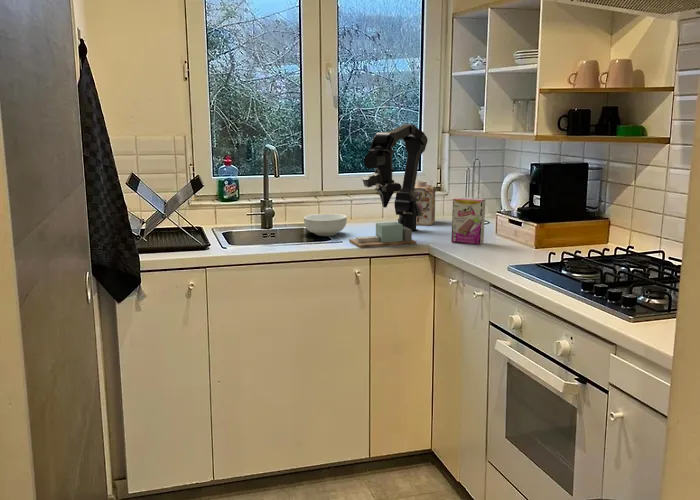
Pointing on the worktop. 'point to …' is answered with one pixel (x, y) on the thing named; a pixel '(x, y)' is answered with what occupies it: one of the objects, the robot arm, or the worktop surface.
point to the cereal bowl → (325, 223)
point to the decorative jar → (425, 203)
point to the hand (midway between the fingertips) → (384, 207)
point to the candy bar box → (468, 220)
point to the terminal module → (389, 231)
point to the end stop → (407, 234)
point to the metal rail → (369, 239)
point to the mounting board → (381, 243)
